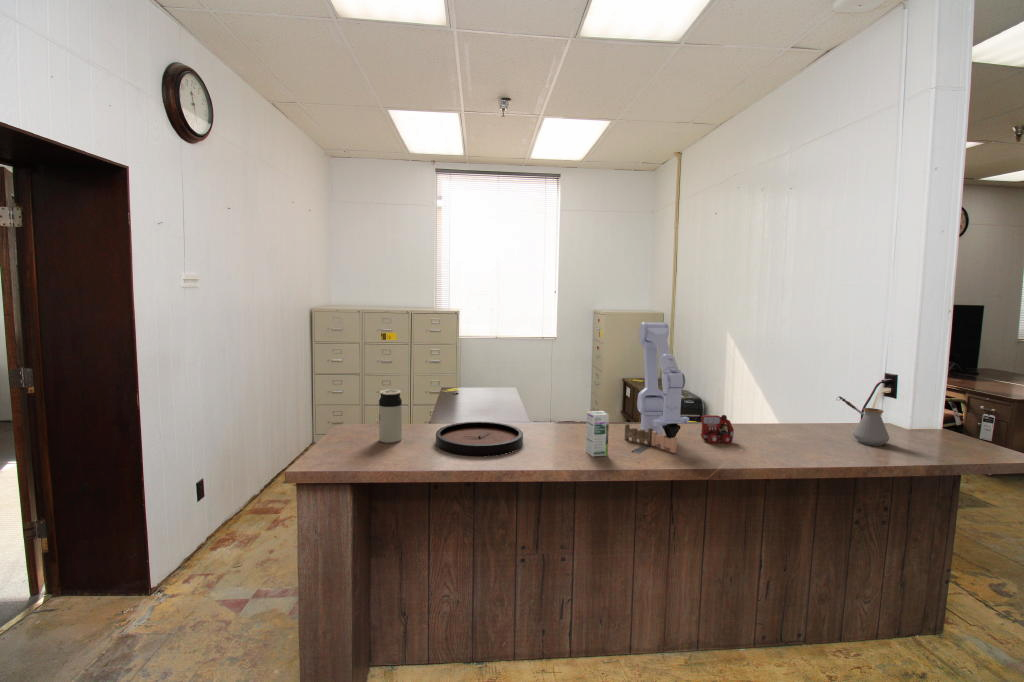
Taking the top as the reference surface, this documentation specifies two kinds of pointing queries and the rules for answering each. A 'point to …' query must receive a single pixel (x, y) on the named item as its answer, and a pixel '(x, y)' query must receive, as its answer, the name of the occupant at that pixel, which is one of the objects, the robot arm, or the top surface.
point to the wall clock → (479, 439)
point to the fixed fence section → (638, 434)
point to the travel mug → (390, 416)
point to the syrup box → (597, 433)
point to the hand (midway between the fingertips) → (670, 444)
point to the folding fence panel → (664, 441)
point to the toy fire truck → (716, 429)
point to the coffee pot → (870, 426)
